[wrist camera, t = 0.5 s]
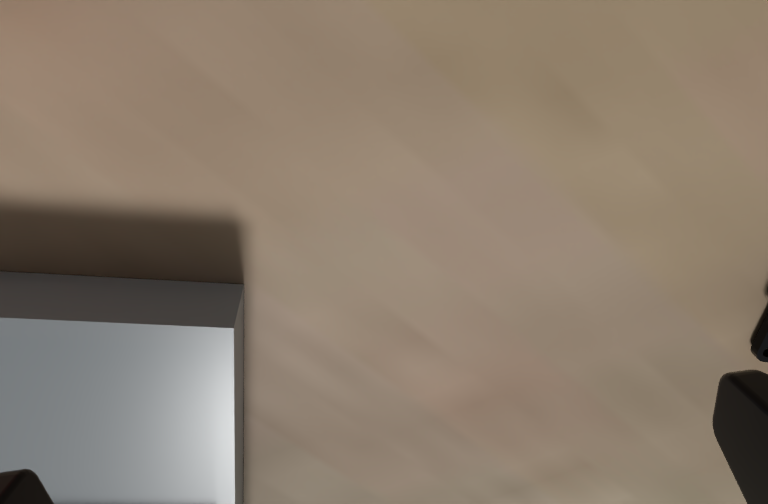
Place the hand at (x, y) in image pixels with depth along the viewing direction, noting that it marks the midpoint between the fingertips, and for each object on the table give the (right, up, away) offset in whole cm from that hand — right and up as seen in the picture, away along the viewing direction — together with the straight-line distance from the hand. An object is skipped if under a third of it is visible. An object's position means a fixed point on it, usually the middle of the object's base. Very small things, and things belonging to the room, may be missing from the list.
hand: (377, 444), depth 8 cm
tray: (-12, -4, +16) cm, 20 cm away
